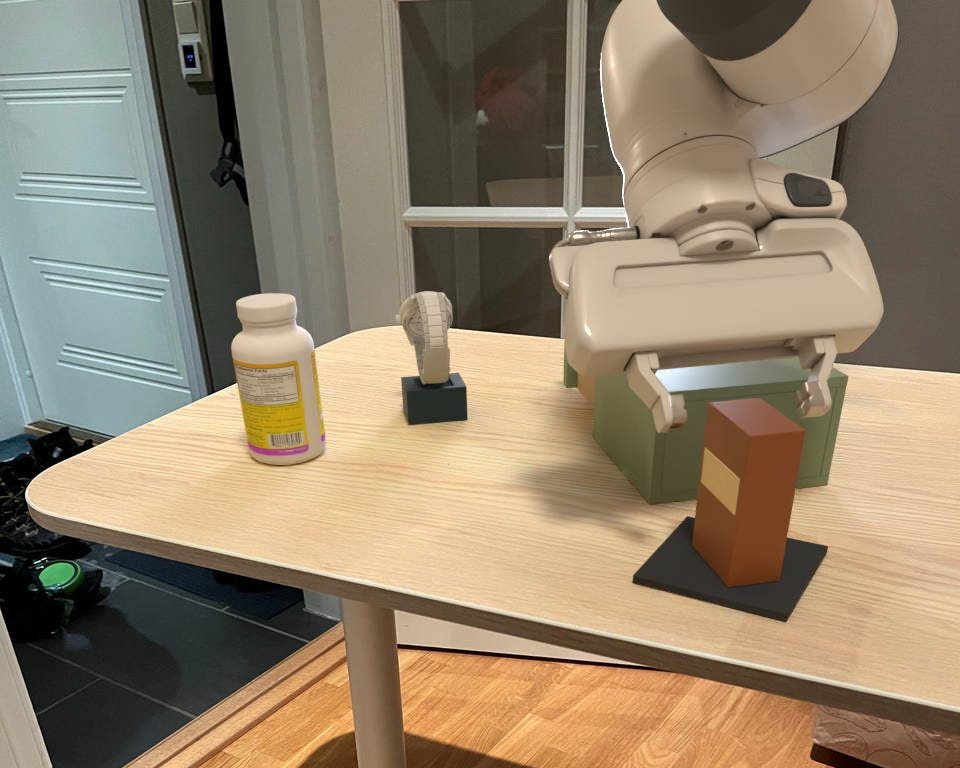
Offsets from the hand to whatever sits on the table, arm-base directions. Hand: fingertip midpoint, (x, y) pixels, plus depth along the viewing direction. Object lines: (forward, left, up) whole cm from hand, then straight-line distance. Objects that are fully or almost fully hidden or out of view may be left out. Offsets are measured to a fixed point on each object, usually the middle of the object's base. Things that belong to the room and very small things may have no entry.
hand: (745, 421), depth 58 cm
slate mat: (-1, +1, -10) cm, 10 cm away
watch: (+33, -15, -10) cm, 38 cm away
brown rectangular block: (-1, +1, -9) cm, 9 cm away
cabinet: (+7, -16, -10) cm, 20 cm away
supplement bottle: (+39, -1, -10) cm, 41 cm away
